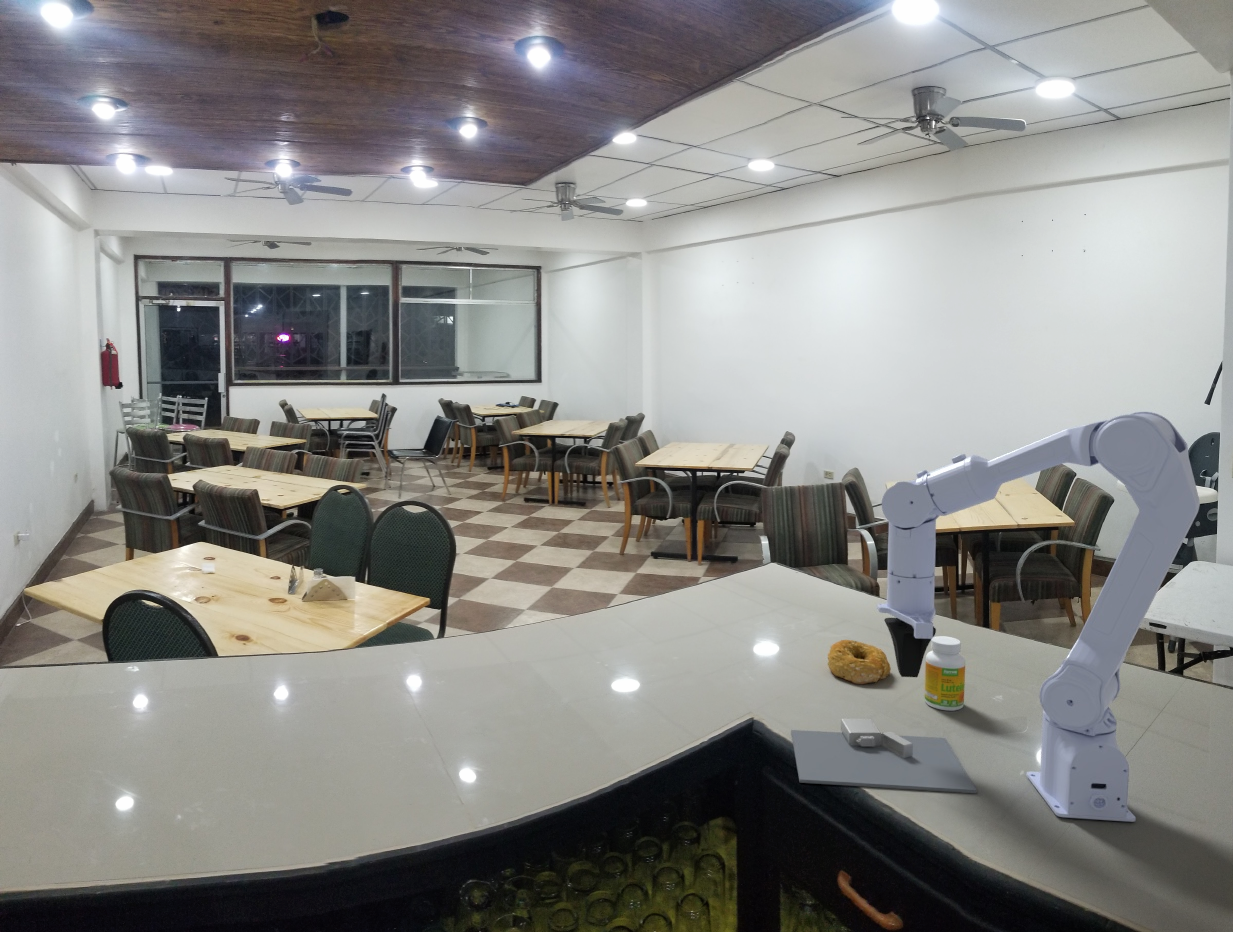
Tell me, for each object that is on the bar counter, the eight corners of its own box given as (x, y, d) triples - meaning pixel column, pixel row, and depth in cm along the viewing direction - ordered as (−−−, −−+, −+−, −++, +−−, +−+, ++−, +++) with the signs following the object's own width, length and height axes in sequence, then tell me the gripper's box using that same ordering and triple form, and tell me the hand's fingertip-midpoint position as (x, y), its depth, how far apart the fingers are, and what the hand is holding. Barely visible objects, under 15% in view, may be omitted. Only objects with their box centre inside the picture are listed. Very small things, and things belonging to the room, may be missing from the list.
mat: (976, 793, 91) (976, 789, 91) (799, 782, 94) (799, 779, 93) (945, 740, 104) (945, 737, 104) (791, 732, 107) (791, 729, 107)
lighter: (840, 730, 106) (857, 758, 98) (840, 718, 106) (857, 745, 98) (893, 730, 106) (914, 758, 98) (893, 718, 106) (914, 745, 98)
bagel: (829, 684, 124) (830, 654, 124) (825, 660, 135) (826, 633, 134) (895, 689, 122) (896, 659, 122) (886, 665, 133) (887, 637, 132)
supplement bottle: (940, 713, 112) (942, 647, 111) (916, 699, 118) (918, 636, 117) (972, 708, 114) (974, 644, 113) (947, 694, 119) (949, 632, 118)
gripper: (868, 559, 108) (866, 655, 110) (890, 586, 94) (888, 695, 96) (921, 560, 108) (918, 656, 109) (952, 587, 93) (948, 697, 95)
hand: (908, 675), depth 102 cm, fingers closed
